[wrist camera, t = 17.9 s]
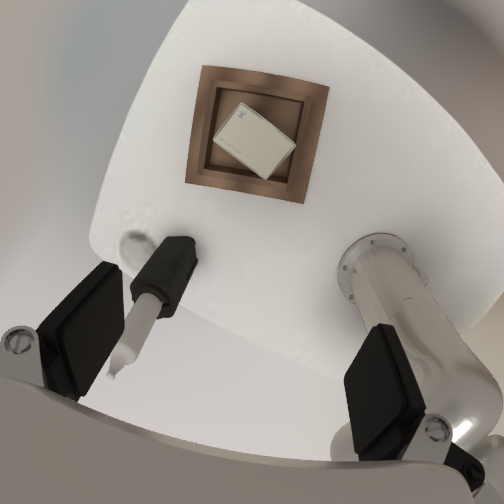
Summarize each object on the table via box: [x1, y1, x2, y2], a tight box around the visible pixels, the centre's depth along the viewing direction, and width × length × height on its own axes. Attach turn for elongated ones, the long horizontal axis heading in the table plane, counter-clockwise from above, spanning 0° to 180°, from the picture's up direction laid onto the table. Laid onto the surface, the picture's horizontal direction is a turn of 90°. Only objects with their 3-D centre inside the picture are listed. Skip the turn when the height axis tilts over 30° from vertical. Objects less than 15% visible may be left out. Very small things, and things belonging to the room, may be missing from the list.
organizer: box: [185, 65, 329, 204], centre depth 34 cm, size 16×16×4 cm
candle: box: [106, 236, 198, 380], centre depth 33 cm, size 5×5×25 cm
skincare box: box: [213, 103, 296, 180], centre depth 29 cm, size 6×4×12 cm
